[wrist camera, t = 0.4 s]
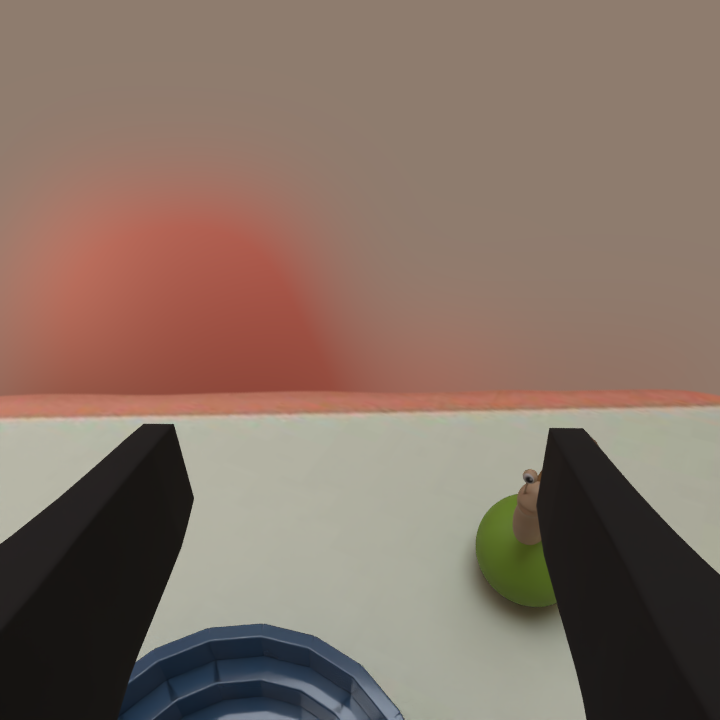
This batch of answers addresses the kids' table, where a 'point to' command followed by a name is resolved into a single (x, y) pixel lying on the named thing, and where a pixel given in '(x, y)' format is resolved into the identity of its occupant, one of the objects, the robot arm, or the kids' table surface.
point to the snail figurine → (516, 547)
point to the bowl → (252, 679)
